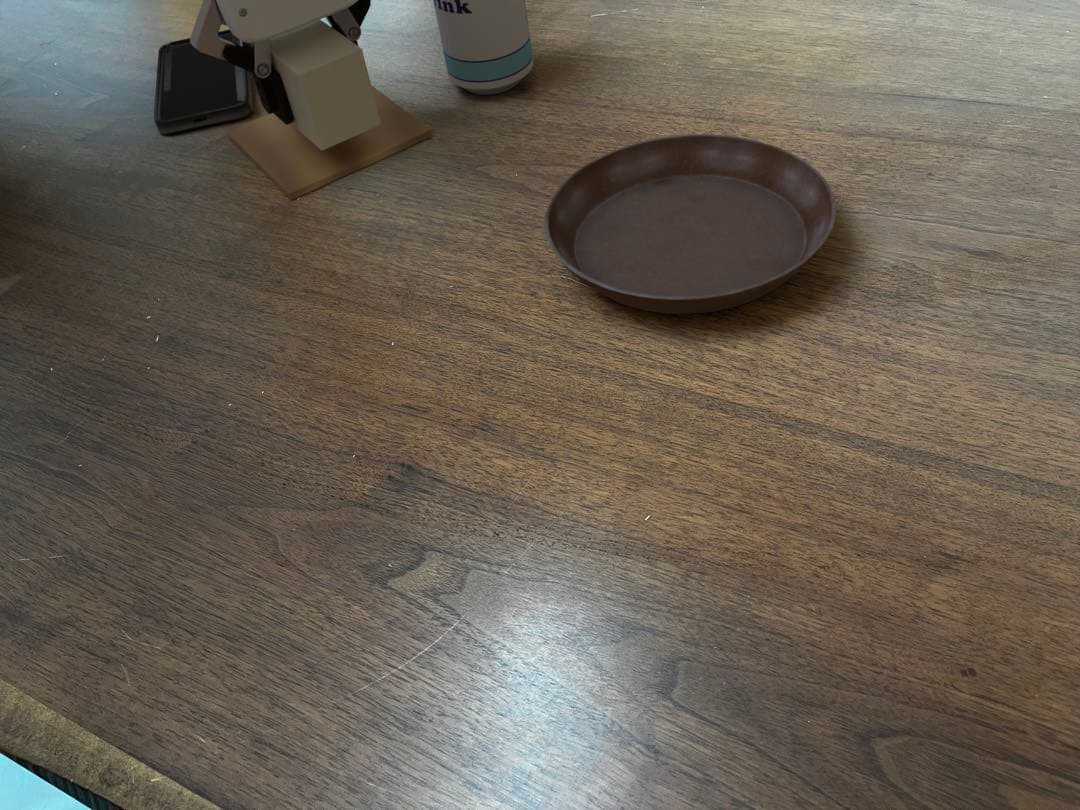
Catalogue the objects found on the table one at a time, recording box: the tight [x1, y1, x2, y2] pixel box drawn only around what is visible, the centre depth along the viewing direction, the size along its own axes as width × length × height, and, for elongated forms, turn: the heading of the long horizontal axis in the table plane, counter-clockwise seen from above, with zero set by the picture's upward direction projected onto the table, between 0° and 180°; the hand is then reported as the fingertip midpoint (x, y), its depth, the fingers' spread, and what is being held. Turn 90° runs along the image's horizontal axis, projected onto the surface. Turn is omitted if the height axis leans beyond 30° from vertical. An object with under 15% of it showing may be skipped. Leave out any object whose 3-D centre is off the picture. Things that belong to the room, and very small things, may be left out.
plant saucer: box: [544, 133, 837, 315], centre depth 68 cm, size 18×18×3 cm
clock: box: [271, 19, 381, 151], centre depth 81 cm, size 11×5×6 cm, turn 34°
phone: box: [153, 28, 254, 135], centre depth 93 cm, size 8×1×15 cm
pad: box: [226, 84, 433, 201], centre depth 84 cm, size 12×12×1 cm
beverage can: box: [432, 0, 534, 96], centre depth 83 cm, size 7×7×12 cm
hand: (317, 99), depth 82 cm, fingers closed on clock, 5 cm apart
